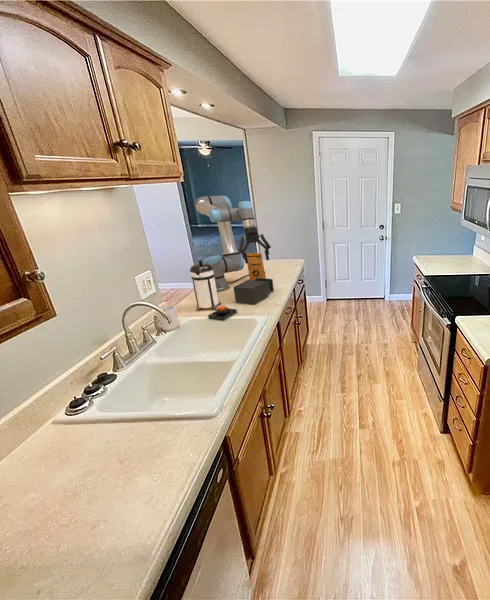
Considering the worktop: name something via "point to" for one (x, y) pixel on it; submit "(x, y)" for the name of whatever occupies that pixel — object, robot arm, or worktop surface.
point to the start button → (221, 308)
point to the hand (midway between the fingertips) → (257, 261)
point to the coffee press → (204, 285)
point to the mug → (173, 316)
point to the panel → (222, 314)
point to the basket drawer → (269, 284)
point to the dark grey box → (250, 292)
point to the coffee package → (255, 266)
